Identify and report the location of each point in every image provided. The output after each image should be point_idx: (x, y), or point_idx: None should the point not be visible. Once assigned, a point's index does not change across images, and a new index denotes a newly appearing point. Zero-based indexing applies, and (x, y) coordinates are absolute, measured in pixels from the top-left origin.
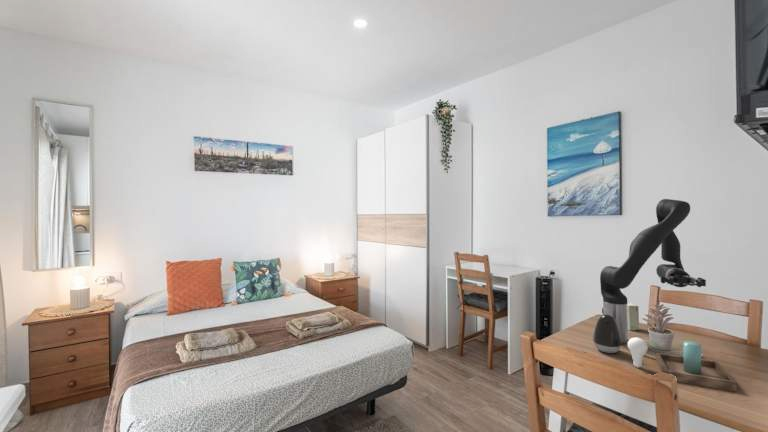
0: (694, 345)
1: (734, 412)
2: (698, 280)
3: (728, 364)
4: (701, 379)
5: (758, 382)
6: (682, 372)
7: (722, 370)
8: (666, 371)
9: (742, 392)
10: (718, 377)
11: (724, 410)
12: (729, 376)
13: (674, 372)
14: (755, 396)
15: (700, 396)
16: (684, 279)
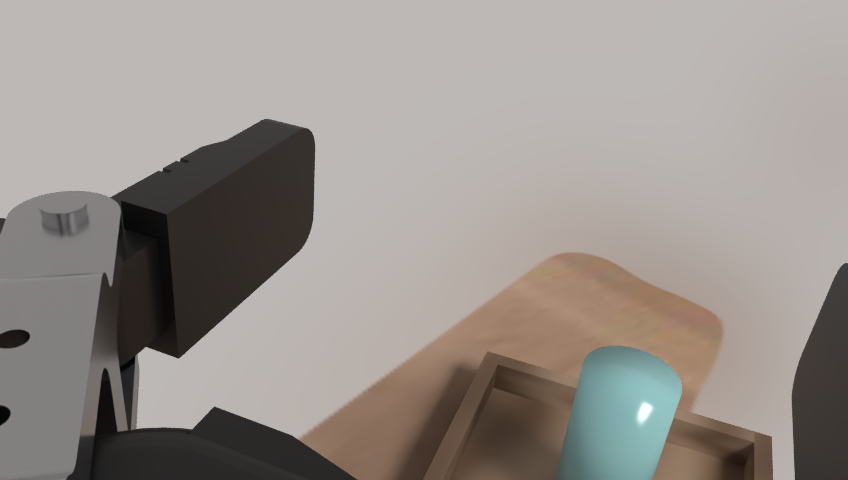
0: (630, 354)
1: (591, 289)
2: (151, 186)
3: None
4: None
5: None
6: (688, 422)
7: (455, 448)
8: (763, 438)
9: (457, 383)
10: (485, 461)
11: (616, 296)
12: (472, 394)
13: (727, 425)
14: (430, 361)
15: None
16: (306, 467)
